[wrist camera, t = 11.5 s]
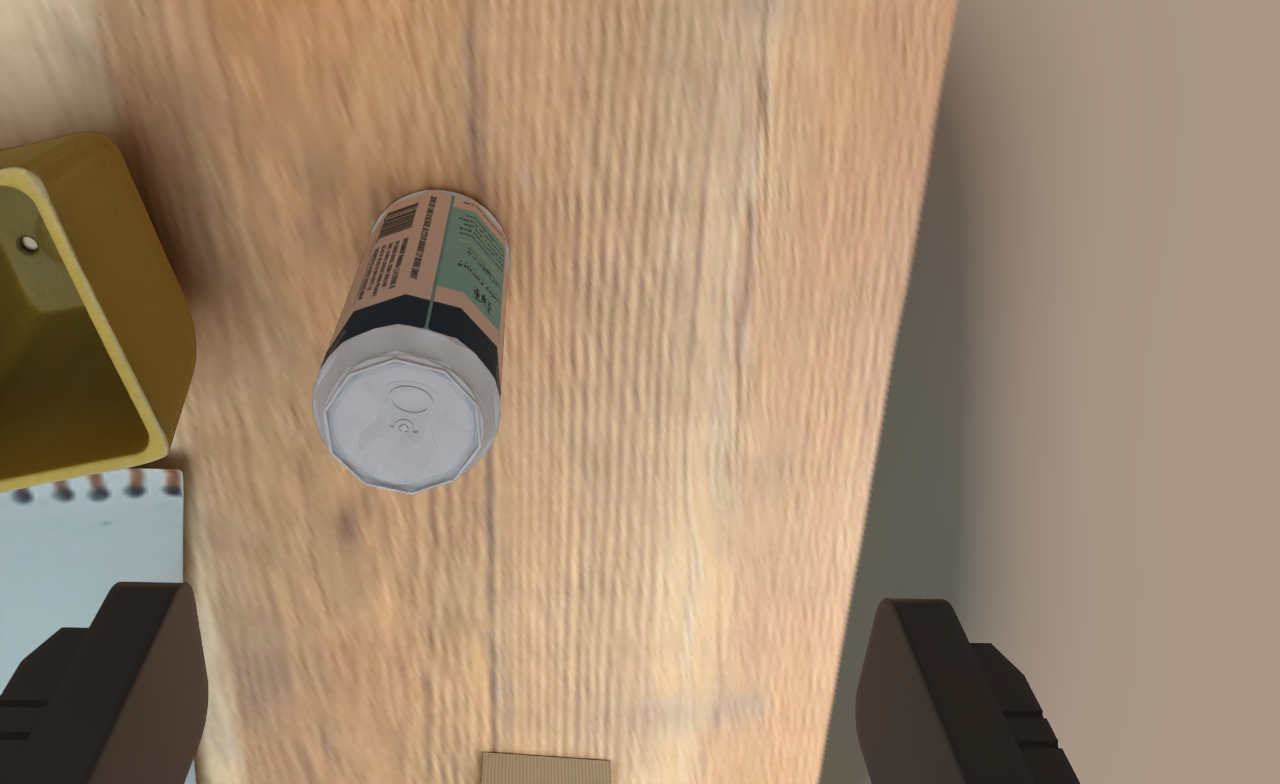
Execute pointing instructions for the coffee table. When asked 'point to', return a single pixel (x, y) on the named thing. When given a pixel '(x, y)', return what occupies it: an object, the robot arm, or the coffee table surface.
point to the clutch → (82, 552)
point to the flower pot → (84, 318)
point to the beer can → (418, 346)
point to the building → (542, 770)
